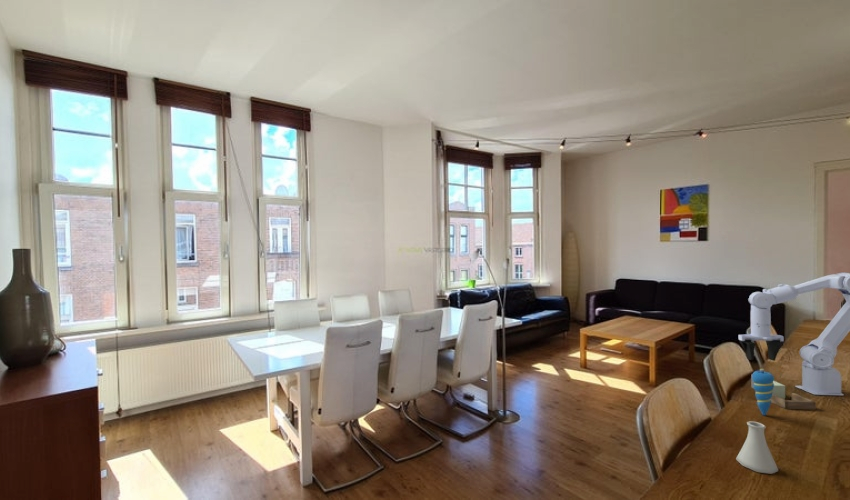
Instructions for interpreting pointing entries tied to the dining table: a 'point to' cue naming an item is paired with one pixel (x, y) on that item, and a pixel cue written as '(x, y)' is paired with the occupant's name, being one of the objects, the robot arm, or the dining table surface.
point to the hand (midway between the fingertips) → (760, 359)
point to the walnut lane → (794, 402)
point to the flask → (756, 451)
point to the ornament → (763, 389)
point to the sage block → (775, 389)
